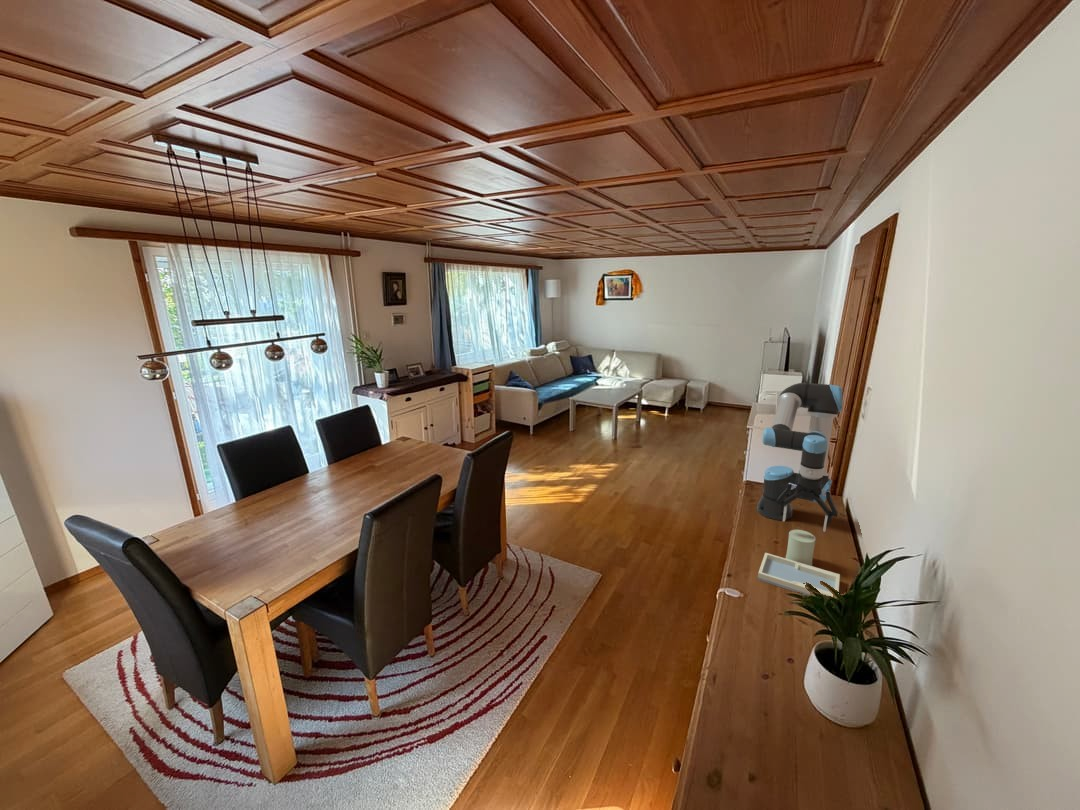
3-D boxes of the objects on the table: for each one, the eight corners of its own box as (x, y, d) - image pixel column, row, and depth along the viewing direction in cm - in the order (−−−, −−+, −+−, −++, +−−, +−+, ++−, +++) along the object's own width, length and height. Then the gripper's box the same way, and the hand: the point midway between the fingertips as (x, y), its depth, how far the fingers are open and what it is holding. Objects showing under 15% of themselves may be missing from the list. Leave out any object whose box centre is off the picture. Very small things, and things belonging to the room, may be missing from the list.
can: (816, 569, 165) (820, 542, 161) (790, 566, 166) (793, 540, 163) (806, 554, 173) (810, 529, 170) (782, 552, 175) (785, 527, 172)
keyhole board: (764, 558, 172) (765, 552, 171) (838, 581, 157) (839, 574, 157) (757, 579, 160) (758, 572, 160) (836, 605, 146) (838, 598, 145)
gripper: (772, 472, 164) (766, 520, 170) (850, 487, 150) (841, 539, 155) (775, 465, 170) (769, 512, 175) (851, 479, 155) (842, 529, 161)
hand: (803, 524), depth 165 cm, fingers open, 13 cm apart
